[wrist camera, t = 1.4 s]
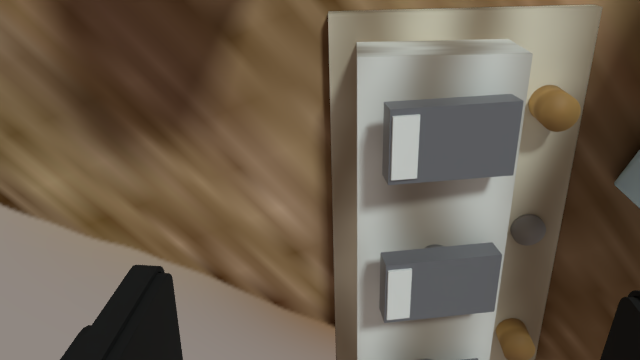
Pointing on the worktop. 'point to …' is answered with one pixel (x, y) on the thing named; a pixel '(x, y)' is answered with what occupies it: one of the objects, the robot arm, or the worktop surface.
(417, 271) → the rocker
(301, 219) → the worktop surface
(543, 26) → the switch unit
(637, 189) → the light blue rectangular block
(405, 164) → the block
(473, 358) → the block
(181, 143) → the worktop surface
